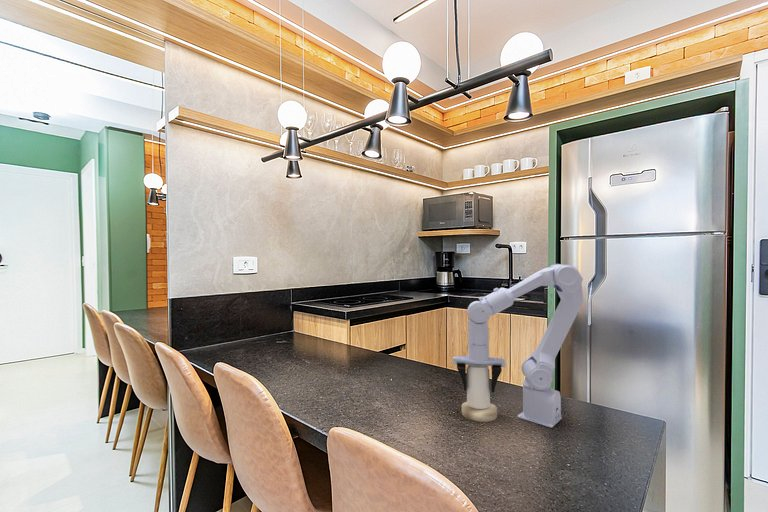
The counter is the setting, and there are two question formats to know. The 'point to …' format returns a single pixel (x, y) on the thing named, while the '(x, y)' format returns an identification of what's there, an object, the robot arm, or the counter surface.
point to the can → (478, 387)
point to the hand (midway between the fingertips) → (478, 390)
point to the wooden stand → (479, 413)
